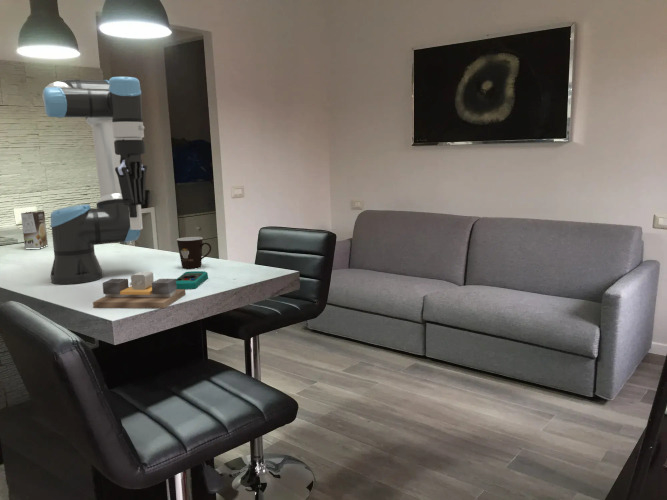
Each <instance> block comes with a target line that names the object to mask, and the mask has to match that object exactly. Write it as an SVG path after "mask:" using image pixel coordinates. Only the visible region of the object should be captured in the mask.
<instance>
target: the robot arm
mask: <svg viewBox="0 0 667 500" xmlns="http://www.w3.org/2000/svg"><path fill="white" fill-rule="evenodd" d="M141 89H142V88H141V84H140V80H139V79H138V78H137V77H134V76H113V77H110V78H109V80H108V79H103V80H102V79H101V80H100V79H76V78H66V79H61V80H57V81H56V80H55V81H54V82H53V81H52V82H50V83H48V84H47V85H46V86H45V87H44V88H43V90H42V95H41V99H42V102H43V105H44V110H45V115H46V116H47V117H49V118H57V119H58V118H59V119H62V118H65V119H66V118H85V122H86V124H88V125H89V126H90V127H91V131H92V141H93V144H94V145H93V147H94V154H95V155H94V156H95V162H96V171H97V178H98V179H97V180H98V187H99V194H100V198H99V199H98V200H97V202H96V207H95V208H91V206H90V204H87V203H86V204H85V203H84V204H77V205H73V206H66V207H61V208H58V209H54V210H53V211H51V213H50V226H49V227H50V228H51V234H52V235H51V237H52V245H53V255H54V257H53V263H52V267H51V270H50V271H51V272H50V283H52V284H55V285H56V284H57V285H72V284H75V285H76V284H84V283H88V282H93V281H97V280H100V279H102V278H103V277H104V275H103V274H104V273H103V268H102V266H101V265H100V262H99V260H98V258H97V255H96V252H95V246H96V245H107V244H115V243H124V244H126V243H127V242H135V241H137V240H138V239H139V238H140V235H141V230H143V229H144V227H143V214H142V205H145V201H146V181H147V179H146V178H147V176H146V175H147V170H148V167H147V165H143V162H142V158H141V155H145V154H146V141H145V140H144V139H143V138H145V131H144V130H145V129H146V128H145V126H144V116H143V107H142V106H143V104H142V102H143V101H142V90H141Z"/></svg>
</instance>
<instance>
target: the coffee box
mask: <svg viewBox="0 0 667 500" xmlns="http://www.w3.org/2000/svg"><path fill="white" fill-rule="evenodd" d="M20 216H21V225H22V234H23V235H22V236H23V243H24V249H25V248H41V247H44V246H46V245H48V246H49V244H48V234H47V224H46V216H45V211H44V210H40V211H27V212H21V213H20Z"/></svg>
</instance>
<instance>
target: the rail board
mask: <svg viewBox="0 0 667 500" xmlns="http://www.w3.org/2000/svg"><path fill="white" fill-rule="evenodd" d="M176 279H177V278H158V279H157V280H153V281H154V282H152V294H150V295H120V291H122V290H124V289H126V288H128V287H130V284H129V278H111V279H109V280H106V281H103V282H102V292H103V293H102V294H103V295H104V296H103V297H101V298H99V299H97V300H94V301H92V306H93V308H94V309H166V308H167V307H169V306H170V305H172V304H173V303H175V302H176V301H178V300H180V299H181V298H183V296H186V289H177V288H176Z"/></svg>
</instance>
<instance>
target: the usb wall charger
mask: <svg viewBox="0 0 667 500" xmlns="http://www.w3.org/2000/svg"><path fill="white" fill-rule="evenodd" d="M130 281H131V282H130V284H129V287H130V286H132V288H133V289H134V290H145V289H147V288H149V287H151V286H152V282H154V281H155V280H154V273H153V271H147V270H146V271H145V270H143V271H139V272H136V273H134V274H132V275H130Z"/></svg>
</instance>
